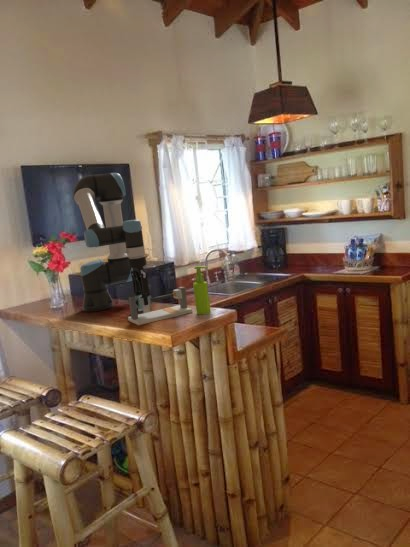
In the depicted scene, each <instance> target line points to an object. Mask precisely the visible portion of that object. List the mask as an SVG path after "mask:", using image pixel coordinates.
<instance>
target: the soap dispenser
mask: <svg viewBox="0 0 410 547" xmlns="http://www.w3.org/2000/svg"><path fill="white" fill-rule="evenodd" d="M207 268H208V266H206V265H205V266H204V265H198V266H195V267H194V269H195V270H196V274H195V275H194V276H195V282H193V284H192V286H193V293H194V300H195V302H194V303H195V310H196V315H198V314H205V315H208V314H207V313H209V314H211V313H212V311H211V304H210V302H211V301H210V297H209V296H210V295H209V288H208V281H205V278H204V274H203V273H202V272H201V271H202V270H201V269H207ZM194 269H193V270H194ZM210 312H211V313H210Z"/></svg>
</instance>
